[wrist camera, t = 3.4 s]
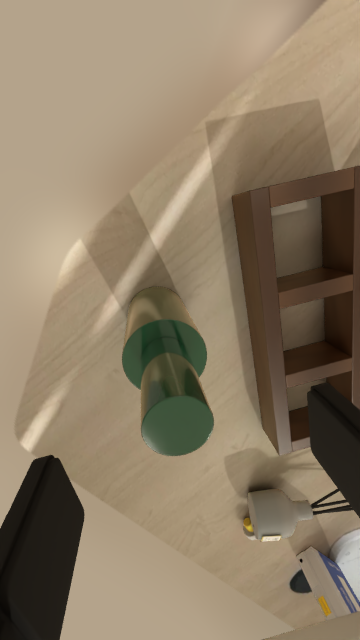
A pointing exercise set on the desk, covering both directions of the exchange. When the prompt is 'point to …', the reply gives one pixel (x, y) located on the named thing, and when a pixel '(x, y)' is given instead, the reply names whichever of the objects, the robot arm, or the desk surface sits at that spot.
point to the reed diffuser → (280, 514)
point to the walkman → (328, 584)
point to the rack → (302, 299)
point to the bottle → (167, 372)
